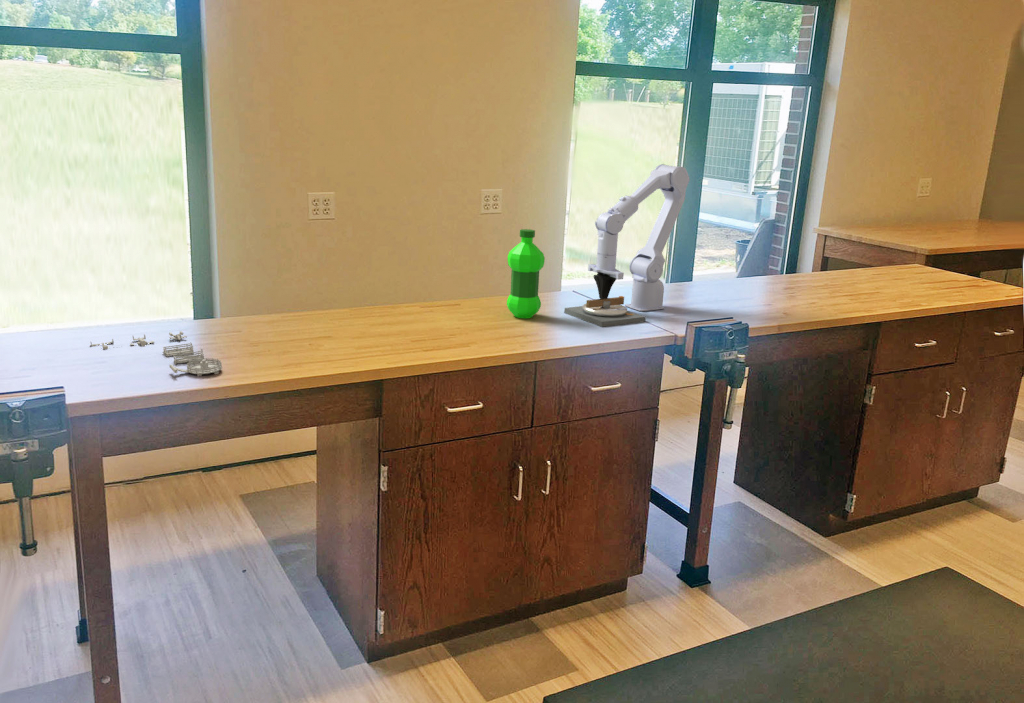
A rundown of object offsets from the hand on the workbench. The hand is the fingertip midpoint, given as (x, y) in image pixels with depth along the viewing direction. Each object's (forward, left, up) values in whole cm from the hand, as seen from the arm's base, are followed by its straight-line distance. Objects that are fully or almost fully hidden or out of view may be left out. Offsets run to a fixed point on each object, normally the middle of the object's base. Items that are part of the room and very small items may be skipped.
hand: (603, 298), depth 265 cm
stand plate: (+4, +6, -4) cm, 8 cm away
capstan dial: (+4, +6, -2) cm, 8 cm away
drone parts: (+128, -1, -5) cm, 128 cm away
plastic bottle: (+26, -4, -4) cm, 27 cm away
